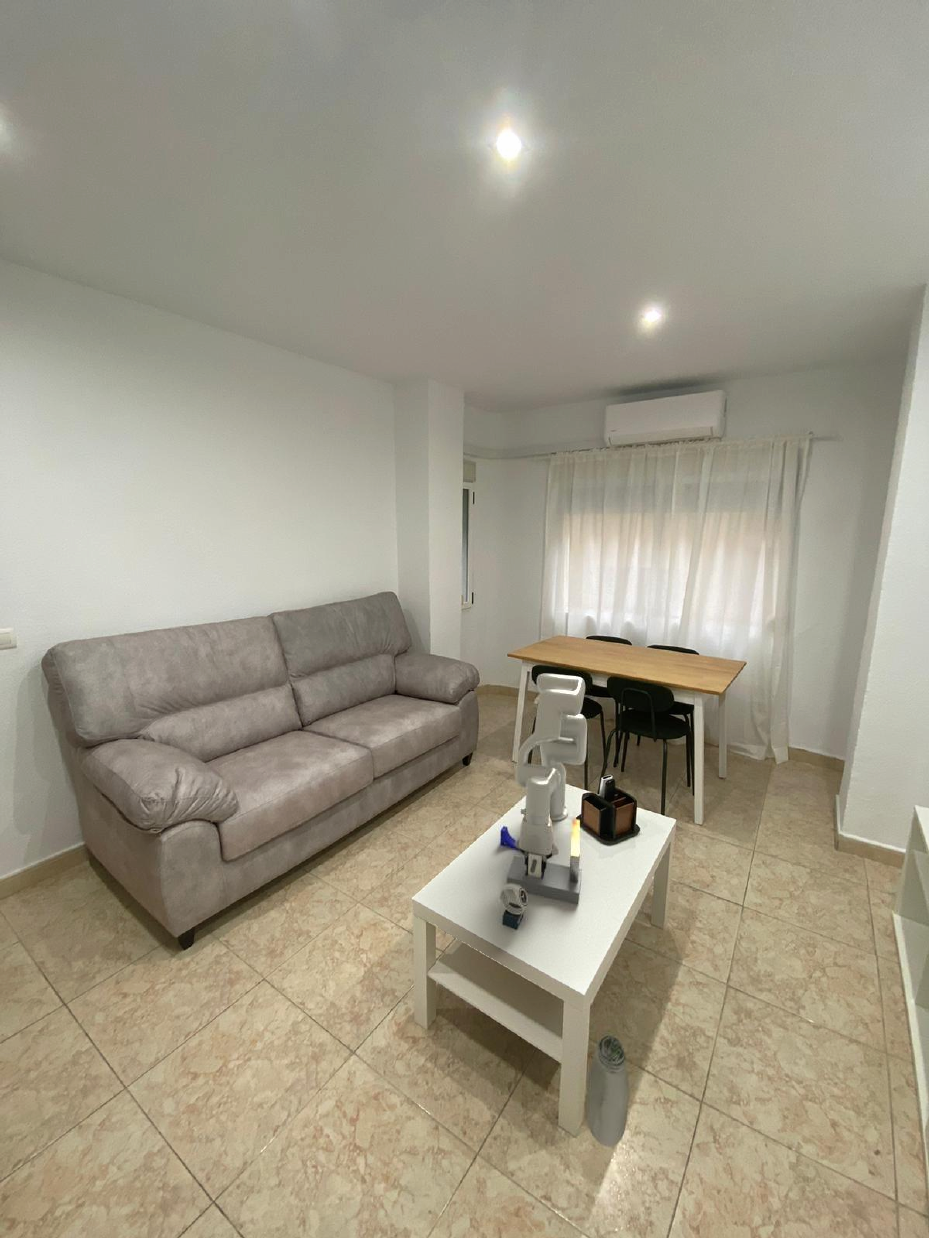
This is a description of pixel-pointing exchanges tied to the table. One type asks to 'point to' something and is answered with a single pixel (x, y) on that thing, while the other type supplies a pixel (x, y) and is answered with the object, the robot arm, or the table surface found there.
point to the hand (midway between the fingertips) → (535, 867)
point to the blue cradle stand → (507, 839)
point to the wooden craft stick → (574, 852)
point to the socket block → (546, 881)
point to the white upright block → (535, 865)
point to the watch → (514, 905)
